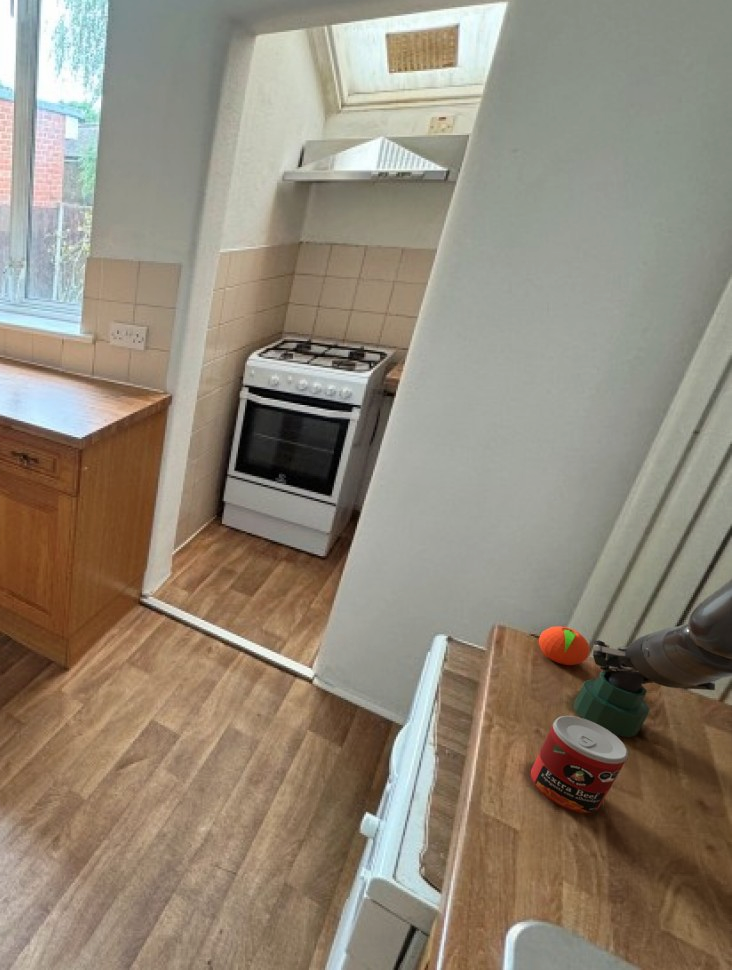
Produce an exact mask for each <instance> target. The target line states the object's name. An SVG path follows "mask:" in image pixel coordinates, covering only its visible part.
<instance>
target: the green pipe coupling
mask: <svg viewBox="0 0 732 970" xmlns="http://www.w3.org/2000/svg"><path fill="white" fill-rule="evenodd" d="M610 676H611V674H607V673H604V672H603V670H601V671H600V673H599V675H598V677H597V679H595V678H594V679H593V678H590V679H588V680H585V681H584V682H583V684H582V686H581V687H580V690H579V692H578V694H577V696H576V698H575V700H574V702H573V708H574V710H575V712H576V713H577V714H578V715H579V716H580V718H583V719H586V720H589V721H591V722H594V723H596V724H598V725H600V726H602V727H603V728H605V729H607V730H608V731H610V732H611V733H613V734H614V735H615V736H620V737H627V738H628V737H629V738H631V737H634V736H636V735H638V733H639V731H640V730H641V728H642V726H643V725H644V723H645V721H646V720H647V718H648V715H649V713H650V710H651V709H650V707H649V705H648V704H647V703H646V701H644V699H645V697H646V695H647V691H648V690H647V688H645V686H643V684H642V685H641V687H640V688H639V690H638V692H637V693H631V692H627V691H624V690H622V689H619V688H617V687H615V686H613V685H612V684H610V683H609V682H608V680H609V678H610Z"/></svg>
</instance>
